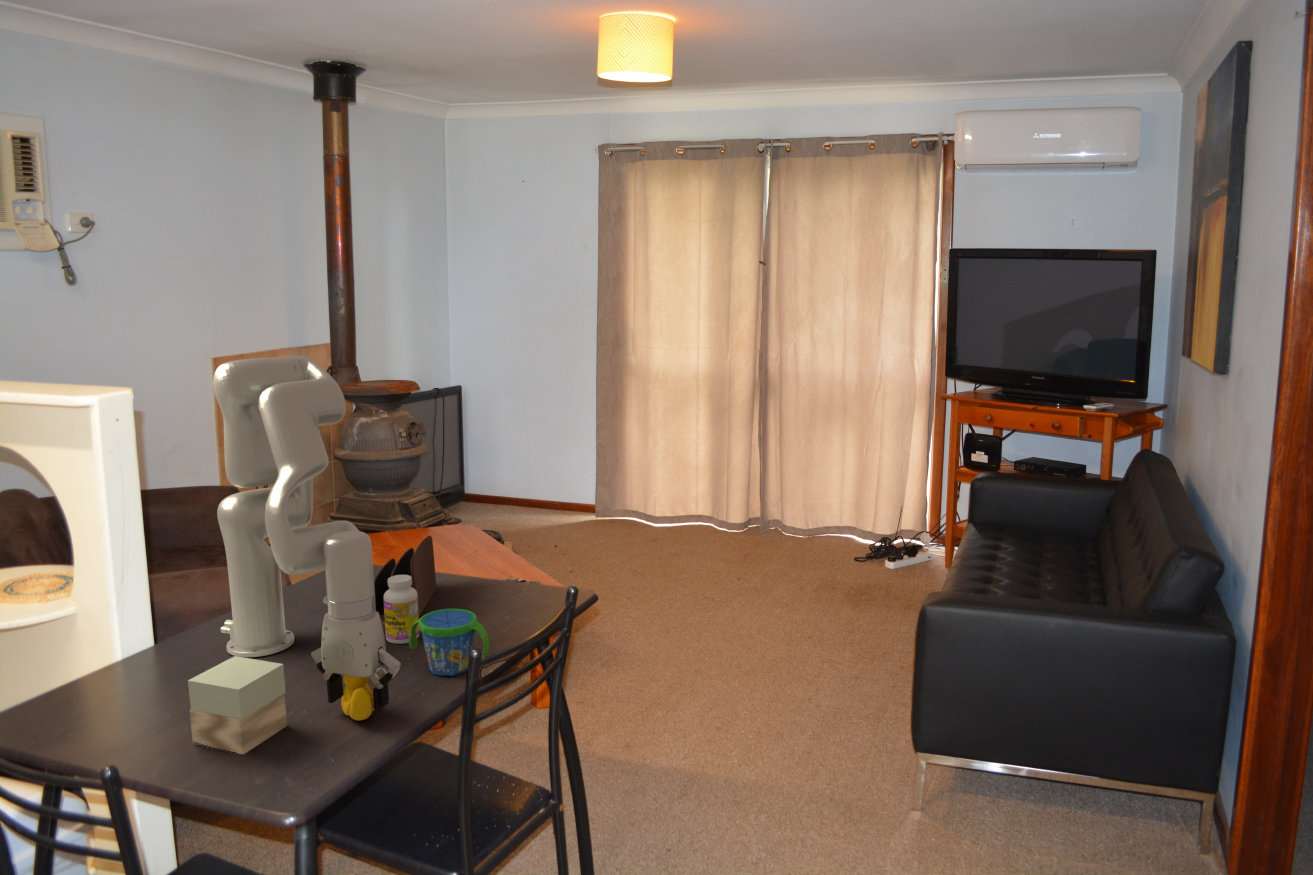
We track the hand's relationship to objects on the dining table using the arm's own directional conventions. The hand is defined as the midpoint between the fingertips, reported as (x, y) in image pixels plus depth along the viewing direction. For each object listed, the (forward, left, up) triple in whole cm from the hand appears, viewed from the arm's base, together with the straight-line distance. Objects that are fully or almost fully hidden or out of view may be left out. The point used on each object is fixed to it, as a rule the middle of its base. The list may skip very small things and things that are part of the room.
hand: (358, 703), depth 164 cm
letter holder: (-23, +49, -3) cm, 54 cm away
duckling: (0, 0, -2) cm, 2 cm away
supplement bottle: (-12, +31, -2) cm, 33 cm away
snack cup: (+5, +21, -2) cm, 22 cm away
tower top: (-14, -12, +4) cm, 19 cm away
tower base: (-14, -12, -2) cm, 19 cm away
